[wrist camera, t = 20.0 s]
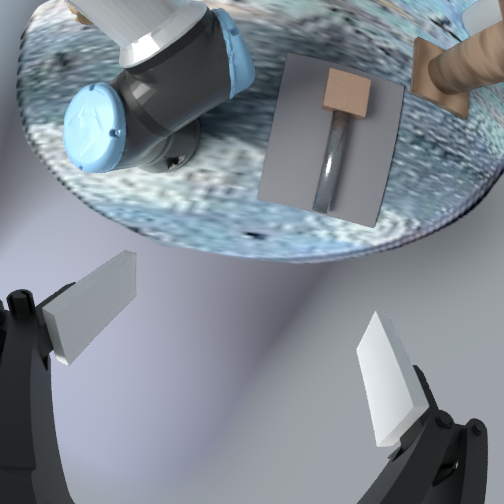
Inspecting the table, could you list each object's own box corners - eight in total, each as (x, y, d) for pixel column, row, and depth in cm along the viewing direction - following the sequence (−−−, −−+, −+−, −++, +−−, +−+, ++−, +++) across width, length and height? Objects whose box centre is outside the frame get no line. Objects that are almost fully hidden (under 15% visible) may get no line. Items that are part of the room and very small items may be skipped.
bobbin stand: (409, 92, 37) (513, 49, 9) (414, 39, 33) (494, -25, 5) (462, 119, 36) (571, 112, 8) (465, 67, 32) (558, 35, 4)
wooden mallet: (338, 214, 47) (341, 219, 43) (300, 204, 47) (301, 209, 44) (365, 85, 38) (371, 79, 34) (327, 74, 38) (330, 67, 35)
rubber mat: (257, 198, 49) (256, 198, 48) (287, 53, 39) (287, 52, 38) (372, 227, 47) (373, 228, 47) (403, 87, 37) (404, 86, 37)
